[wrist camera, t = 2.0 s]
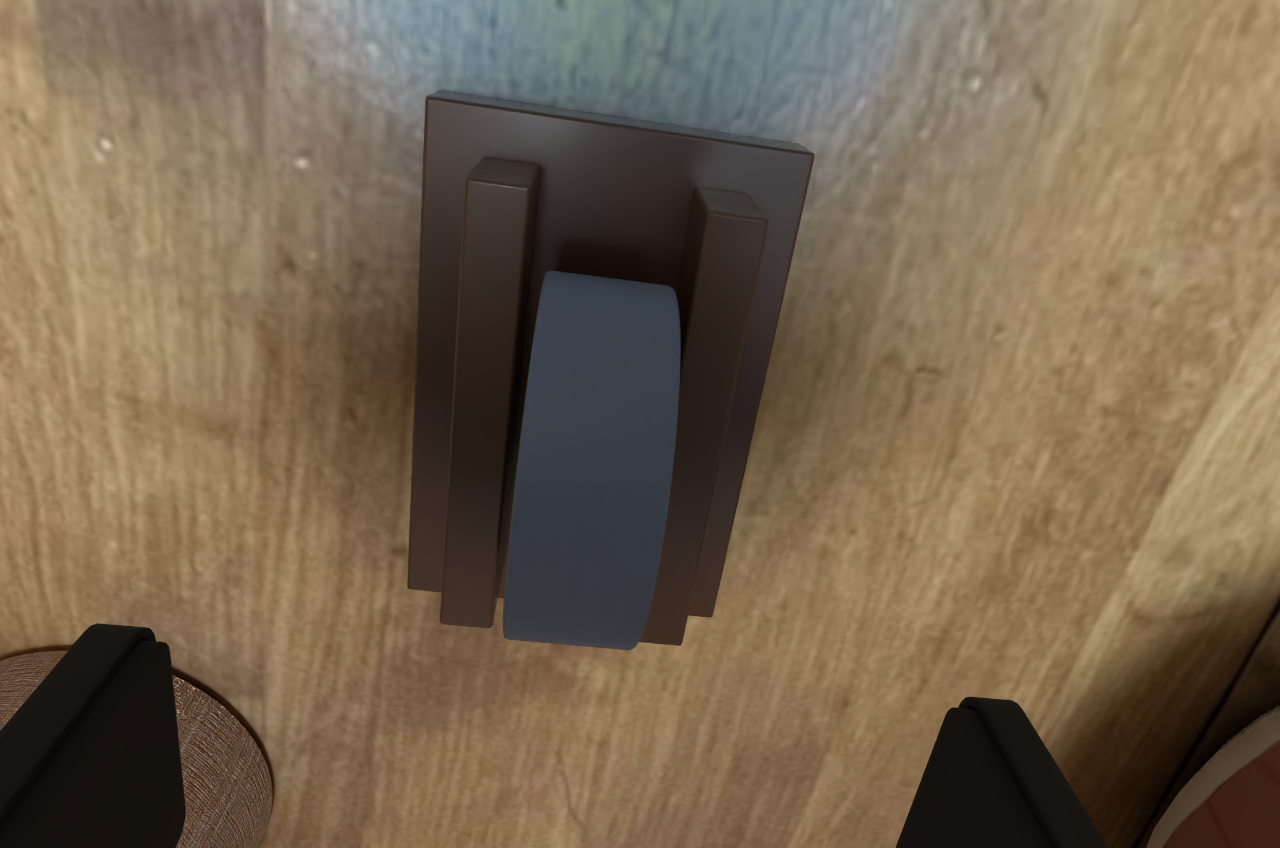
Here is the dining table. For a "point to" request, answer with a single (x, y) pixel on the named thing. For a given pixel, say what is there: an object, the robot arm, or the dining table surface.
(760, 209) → the rack
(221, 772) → the planter
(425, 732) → the dining table surface
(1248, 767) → the bowl
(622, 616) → the disc
